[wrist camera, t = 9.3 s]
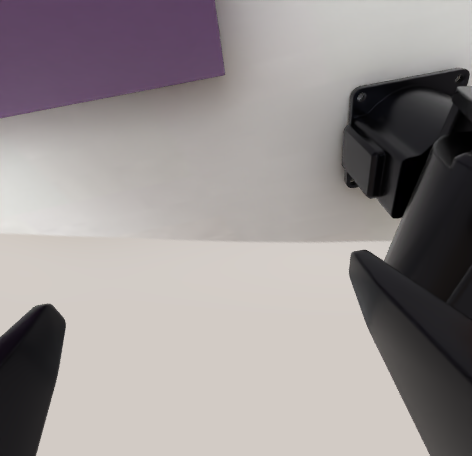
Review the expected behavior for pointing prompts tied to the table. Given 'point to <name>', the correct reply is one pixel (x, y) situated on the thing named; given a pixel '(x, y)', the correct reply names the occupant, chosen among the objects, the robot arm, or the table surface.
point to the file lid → (102, 49)
